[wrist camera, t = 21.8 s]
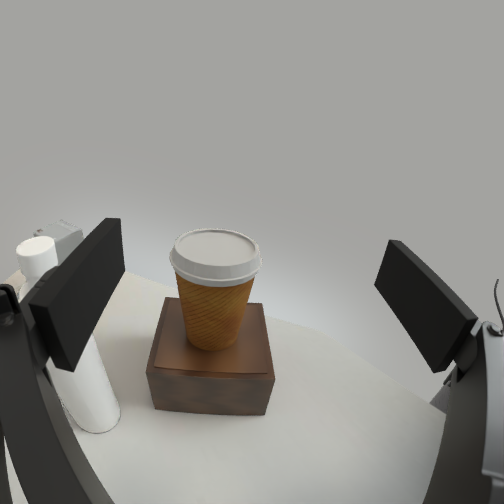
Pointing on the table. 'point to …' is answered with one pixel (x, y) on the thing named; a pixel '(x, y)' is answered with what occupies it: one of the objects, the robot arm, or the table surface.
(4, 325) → the robot arm
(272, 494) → the table surface
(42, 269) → the spray bottle
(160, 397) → the walnut riser
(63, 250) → the cosmetic box
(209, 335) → the disposable coffee cup
